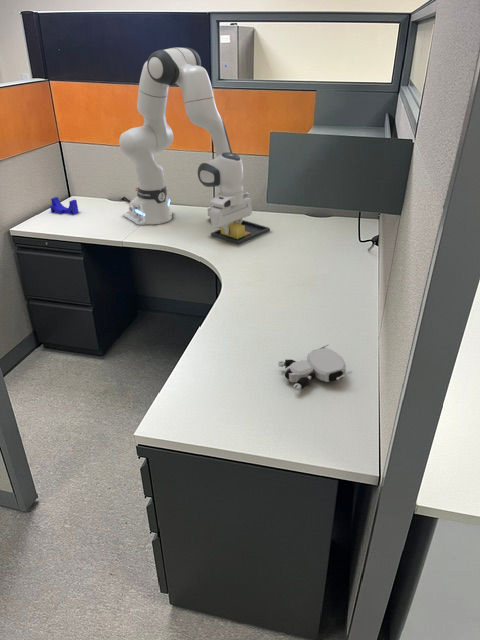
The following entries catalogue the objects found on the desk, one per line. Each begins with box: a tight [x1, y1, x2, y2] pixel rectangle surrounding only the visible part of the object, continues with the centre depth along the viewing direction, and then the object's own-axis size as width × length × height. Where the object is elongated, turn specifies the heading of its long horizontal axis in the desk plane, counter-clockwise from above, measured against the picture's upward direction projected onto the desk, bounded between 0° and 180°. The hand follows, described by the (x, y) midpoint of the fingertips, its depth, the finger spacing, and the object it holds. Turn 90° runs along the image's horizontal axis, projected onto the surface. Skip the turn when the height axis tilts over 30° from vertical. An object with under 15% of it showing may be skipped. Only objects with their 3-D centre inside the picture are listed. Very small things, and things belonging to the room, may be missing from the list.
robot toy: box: [277, 343, 353, 391], centre depth 121 cm, size 12×4×15 cm
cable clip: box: [49, 196, 79, 216], centre depth 227 cm, size 12×4×6 cm, turn 66°
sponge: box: [220, 221, 245, 241], centre depth 198 cm, size 9×4×5 cm, turn 48°
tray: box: [210, 219, 271, 246], centre depth 202 cm, size 15×20×2 cm
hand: (232, 231), depth 198 cm, fingers closed on sponge, 4 cm apart
